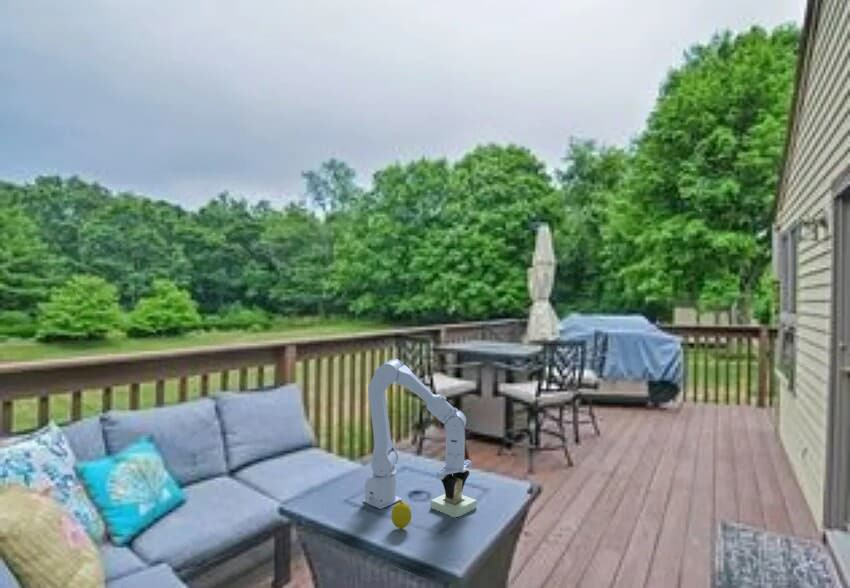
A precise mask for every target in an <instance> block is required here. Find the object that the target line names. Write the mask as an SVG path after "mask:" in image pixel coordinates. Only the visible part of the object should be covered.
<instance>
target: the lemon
mask: <svg viewBox="0 0 850 588" xmlns="http://www.w3.org/2000/svg"><path fill="white" fill-rule="evenodd" d="M394 504H395V505H394V506H393V507H392V511H391V521H392V524H393V525H394V526H395V527H396V528H398V529H400V530H403V529H404V528H406V527H408V526H409V525H410V523H411V520H412V511H411V507H410V505H408V503H406V502H404V501H402V500H400V501H398V502H396V503H394Z"/></svg>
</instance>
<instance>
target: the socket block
mask: <svg viewBox="0 0 850 588" xmlns="http://www.w3.org/2000/svg"><path fill="white" fill-rule="evenodd" d="M477 501H478V500H477V499H474V498H472V497H469V496H466V495H464V494H462V502H461V503H459V504H457V505H453V504H450V503H448V502H445V493H444V494H441V495H439V496H437V497H435V498H433V499H430V509H431V508H432V509H431V510H434V509H435V510H434V511H436V510H437V511H436V512H439V511H440V512H439V513H441V512H443V513H445V514H444V515H446V514H448V515H451V516H453V517H458V516H460V517H462V516H463V515H462V514H464V515H465V513H466V514H468V513H469V511H470V512H471V510H472V511H473V509H474V510H475V508H476V509H477V505H478V503H477ZM467 512H468V513H467ZM443 513H442V514H443ZM448 515H447V516H448ZM461 515H462V516H461ZM451 516H450V517H451ZM453 517H452V518H453ZM458 518H459V517H458Z"/></svg>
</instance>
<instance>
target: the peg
mask: <svg viewBox="0 0 850 588" xmlns="http://www.w3.org/2000/svg"><path fill="white" fill-rule="evenodd" d="M455 478H456V477H455ZM444 494H445V502H448V503H450V504H453V505H457V504H459V503H461V502H462V495H463V490H462V479H459V478H457V481H456V483H455V487H454V495H453V498H452V499H450V498H447V497H446V493H445V492H444Z"/></svg>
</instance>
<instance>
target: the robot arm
mask: <svg viewBox="0 0 850 588" xmlns="http://www.w3.org/2000/svg"><path fill="white" fill-rule="evenodd" d="M395 382H396V383H395ZM394 383H395V386H404V387H407V388H408V389H410V390H411V391H412V392H413V393H414V394H416V395H417V396H418V398H420V399H422V400H423V402H425V404H426V409H427V410H428V412H430V413H431V414H432V415H433V416H434V417H435V418H436V419H437V420H439V422H441V423H442V424H443V425H444V429H445V431H446V436H445V463H444V464H445V465H444V466H442V467H441V469H439V470H438V471H436V479H439V480H440V481H441V484H442V485H443V489H444V494H445V493H446V497H447V498H450V499H452V498H453V495H454V487H455V483H456V481H457V478H459V479H462V491H463V489H464V486H465V483H466V481H467V478H468V477H469V476H470V471H469V470H467V468H468V469H470V468H472V462H473V461H471V460H470V459H465V450H466V449H465V447H466V446H465V445H466V444H465V443H466V438H465V435H466V433H465V432H466V431H465V427H466V424H467V418H466V417H467V416H466V415H465V414H464V412H463V411H461V410H459V409H458V408H457V407H454V406H453V405H451V403H449V402H448V401H447V397H446V396H445V395H443V396H442V395H441V394H434V393H433V392H432V391H431V390H430V389H429V388H428V387H427V386H426V385H425V383H423V381H421V380H420V378H419V377H418V376H417V375H415V373H413V372H412V370H411V369H410V368H409V367H408V366H407V365H405V364H404V363H403V362H402V361H401V360H400V359H397V358H391V359H388V360H387V361H386V362H385V363H383V364H381V365H380V366H379V367H378V368H376V370H375V371H374V373H373V376H372V378H371V380H370V382H369V384H368V387H367V391H368V400H369V405H370V407H369V408H370V416H371V424H372V431H373V438H374V439H373V441H374V444H373V445H374V446H373V450H372V461H371V464H370V465H371V470H372V474H371V475H370V476H369V477H367V478H366V480H365V483H364V484H365V485H364V499H363V500H362V501H363V502H364V503H366V504H368V505H370V506H373V507H375V508H378V509H380V510H381V509H384V508H386V507H388V506H391V505H393V504H397V503H399V502H401V501H402V498H401V497H399V496H398V495H397V469H396V467H395V465H396V464H397V463H398V460H399V455H398V452H397V451H396V449H395V444H394V442H393V440H392V437H391V429H390V421H389V412H388V404H387V396H386V390H387V389H388V388H389V386H391V385H392V384H394ZM455 477H456V478H455Z"/></svg>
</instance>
